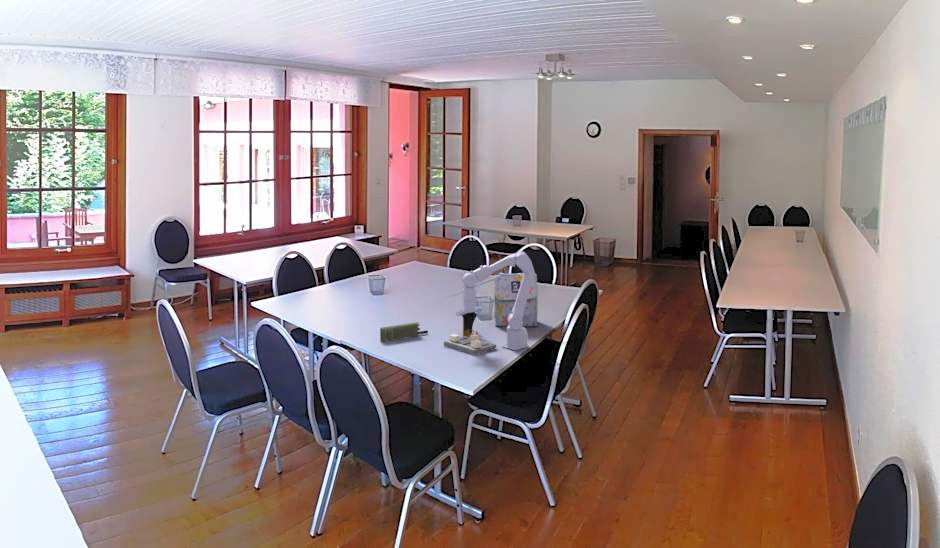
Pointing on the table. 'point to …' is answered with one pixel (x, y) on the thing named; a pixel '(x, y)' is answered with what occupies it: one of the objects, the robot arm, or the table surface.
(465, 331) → the multimeter
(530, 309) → the lunch bag
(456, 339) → the lever
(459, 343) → the breaker panel
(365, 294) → the table surface
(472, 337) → the lever
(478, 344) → the lever
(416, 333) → the handheld radio
